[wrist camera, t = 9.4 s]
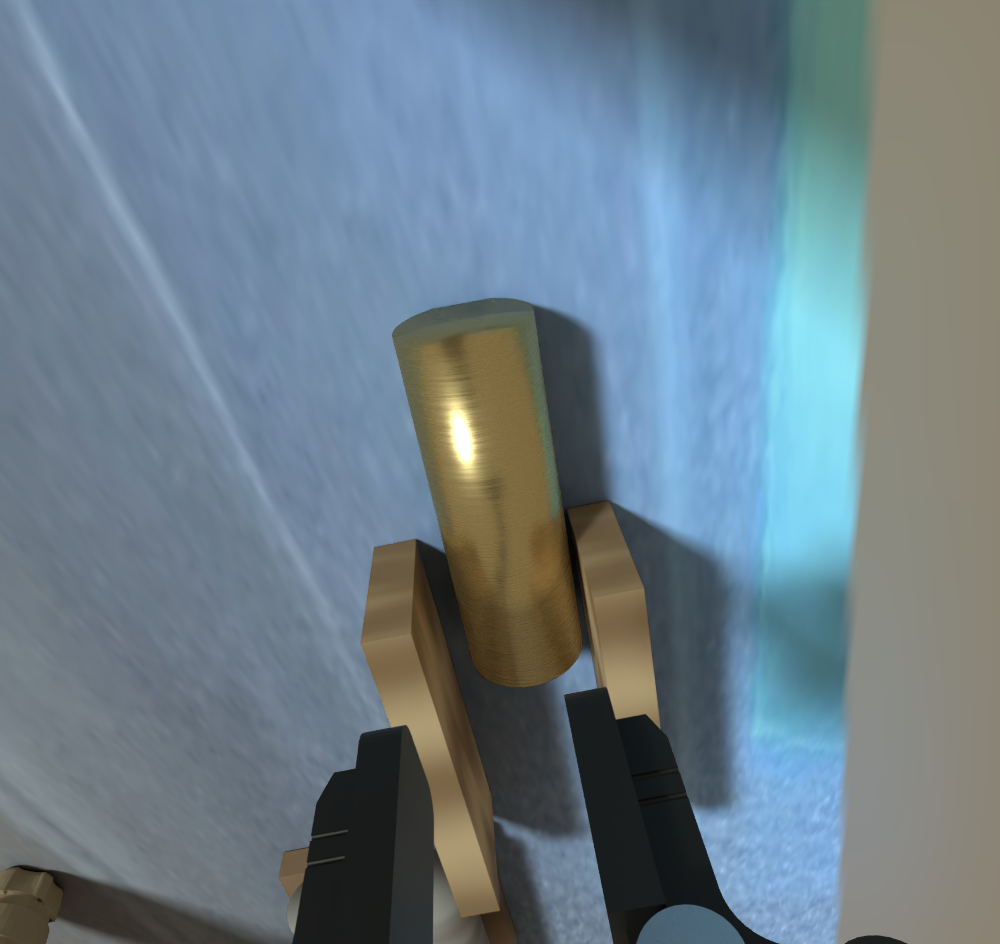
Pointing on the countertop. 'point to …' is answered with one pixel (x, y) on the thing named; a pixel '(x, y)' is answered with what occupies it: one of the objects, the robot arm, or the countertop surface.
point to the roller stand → (455, 939)
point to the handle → (27, 906)
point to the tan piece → (438, 700)
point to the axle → (494, 483)
